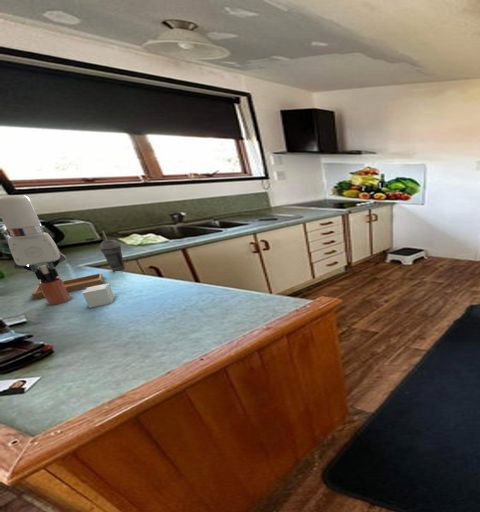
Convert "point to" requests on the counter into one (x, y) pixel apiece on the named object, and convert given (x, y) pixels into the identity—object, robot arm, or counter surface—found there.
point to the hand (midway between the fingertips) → (49, 279)
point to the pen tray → (75, 284)
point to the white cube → (98, 295)
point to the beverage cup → (112, 254)
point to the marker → (46, 273)
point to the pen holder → (55, 291)
